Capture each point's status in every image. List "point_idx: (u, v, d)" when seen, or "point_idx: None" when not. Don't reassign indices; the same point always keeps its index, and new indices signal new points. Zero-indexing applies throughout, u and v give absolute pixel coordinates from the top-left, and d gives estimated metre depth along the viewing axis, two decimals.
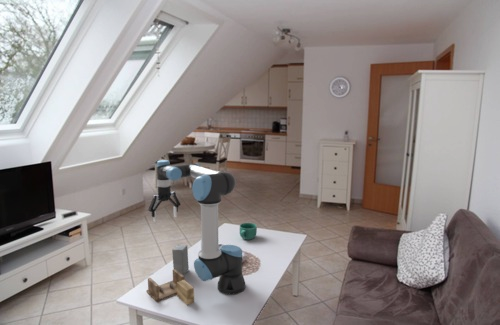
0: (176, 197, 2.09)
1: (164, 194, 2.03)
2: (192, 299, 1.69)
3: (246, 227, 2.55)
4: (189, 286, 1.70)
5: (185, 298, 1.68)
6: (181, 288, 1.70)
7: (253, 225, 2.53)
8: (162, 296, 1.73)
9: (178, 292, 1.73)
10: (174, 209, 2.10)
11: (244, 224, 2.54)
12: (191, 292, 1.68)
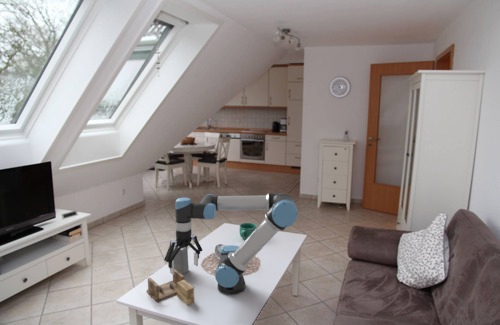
0: (197, 242, 1.71)
1: (184, 239, 1.66)
2: (192, 299, 1.69)
3: (246, 227, 2.55)
4: (189, 286, 1.70)
5: (185, 298, 1.68)
6: (181, 288, 1.70)
7: (253, 225, 2.53)
8: (162, 296, 1.73)
9: (178, 292, 1.73)
10: (195, 256, 1.73)
11: (244, 224, 2.54)
12: (191, 292, 1.68)
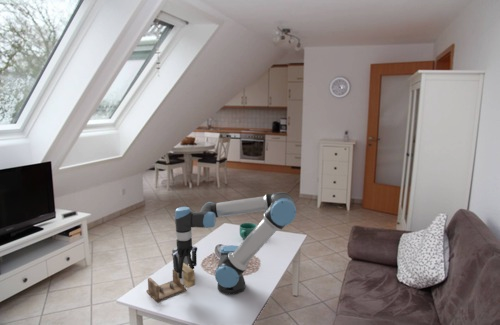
0: None
1: (184, 248, 1.66)
2: (193, 282, 1.68)
3: (246, 227, 2.55)
4: (189, 269, 1.68)
5: (186, 281, 1.67)
6: None
7: (253, 225, 2.53)
8: (162, 296, 1.73)
9: None
10: None
11: (244, 224, 2.54)
12: (192, 275, 1.67)
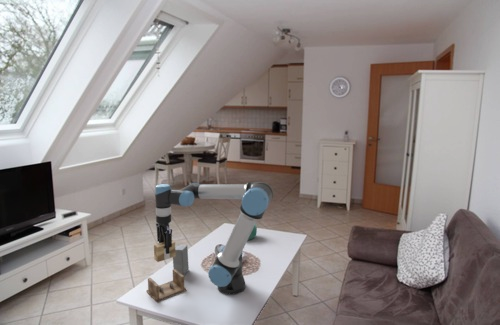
0: (167, 237, 1.69)
1: (161, 224, 1.73)
2: (157, 258, 1.72)
3: None
4: (160, 245, 1.73)
5: None
6: None
7: None
8: (162, 296, 1.73)
9: None
10: None
11: None
12: (156, 250, 1.72)
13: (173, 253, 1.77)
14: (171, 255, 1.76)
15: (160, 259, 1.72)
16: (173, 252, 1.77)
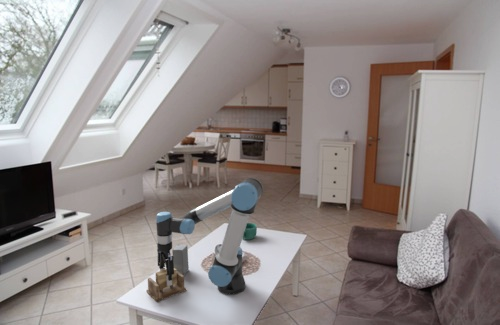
0: (168, 264, 1.71)
1: (162, 251, 1.75)
2: None
3: (246, 227, 2.55)
4: (162, 273, 1.75)
5: None
6: None
7: (253, 225, 2.53)
8: (162, 296, 1.73)
9: None
10: None
11: None
12: (158, 278, 1.74)
13: (174, 280, 1.80)
14: (172, 282, 1.79)
15: (162, 287, 1.75)
16: (174, 279, 1.80)
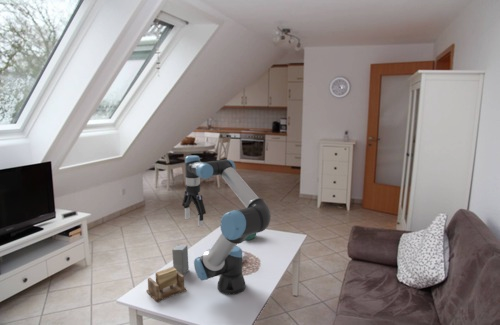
0: (199, 203, 1.75)
1: (190, 193, 1.80)
2: None
3: None
4: (162, 273, 1.75)
5: None
6: None
7: None
8: (162, 296, 1.73)
9: None
10: None
11: None
12: (158, 278, 1.74)
13: (174, 280, 1.80)
14: (172, 282, 1.79)
15: (162, 287, 1.75)
16: (174, 279, 1.80)
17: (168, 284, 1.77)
